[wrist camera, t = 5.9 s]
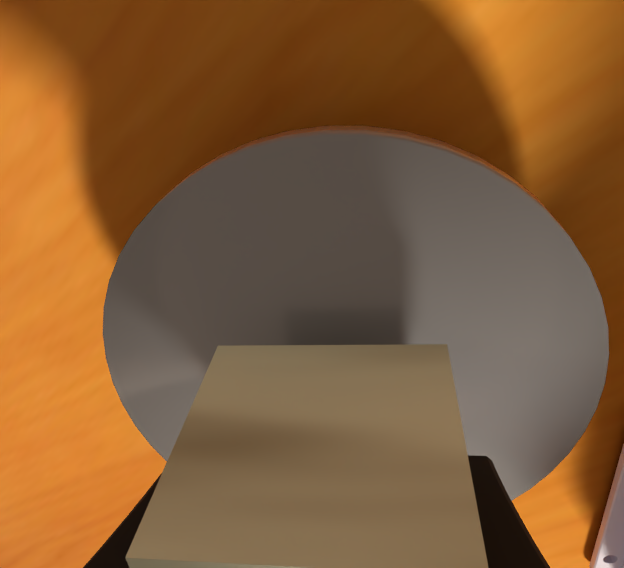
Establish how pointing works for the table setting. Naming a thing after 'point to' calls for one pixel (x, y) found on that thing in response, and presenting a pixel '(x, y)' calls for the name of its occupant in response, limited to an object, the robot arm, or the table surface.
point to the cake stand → (365, 284)
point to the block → (317, 465)
